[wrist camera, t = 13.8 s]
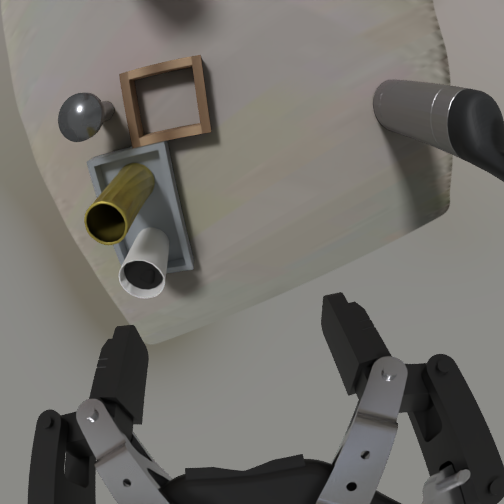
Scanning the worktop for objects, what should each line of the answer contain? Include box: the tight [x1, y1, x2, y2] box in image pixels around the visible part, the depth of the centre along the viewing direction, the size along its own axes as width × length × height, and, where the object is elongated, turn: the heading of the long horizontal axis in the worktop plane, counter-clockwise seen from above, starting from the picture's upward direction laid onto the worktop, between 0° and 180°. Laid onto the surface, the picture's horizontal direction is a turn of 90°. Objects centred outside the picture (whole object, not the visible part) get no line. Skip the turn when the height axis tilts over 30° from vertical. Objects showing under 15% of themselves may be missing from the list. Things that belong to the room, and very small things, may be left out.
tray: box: [87, 141, 194, 273], centre depth 41 cm, size 12×21×3 cm, turn 6°
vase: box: [84, 163, 155, 245], centre depth 33 cm, size 6×6×14 cm
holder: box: [119, 55, 211, 148], centre depth 33 cm, size 11×11×3 cm
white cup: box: [119, 227, 169, 298], centre depth 41 cm, size 7×7×10 cm
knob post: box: [58, 93, 114, 142], centre depth 29 cm, size 6×6×9 cm
